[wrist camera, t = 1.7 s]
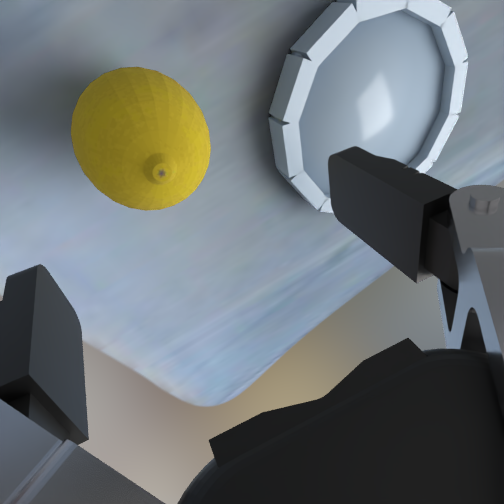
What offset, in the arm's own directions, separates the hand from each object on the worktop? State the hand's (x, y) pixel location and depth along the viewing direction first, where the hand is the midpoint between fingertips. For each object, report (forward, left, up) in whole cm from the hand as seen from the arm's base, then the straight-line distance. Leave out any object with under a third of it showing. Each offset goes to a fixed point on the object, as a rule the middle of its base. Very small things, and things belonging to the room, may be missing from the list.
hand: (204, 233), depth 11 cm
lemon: (0, 0, -12) cm, 12 cm away
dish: (+4, +14, -12) cm, 19 cm away
